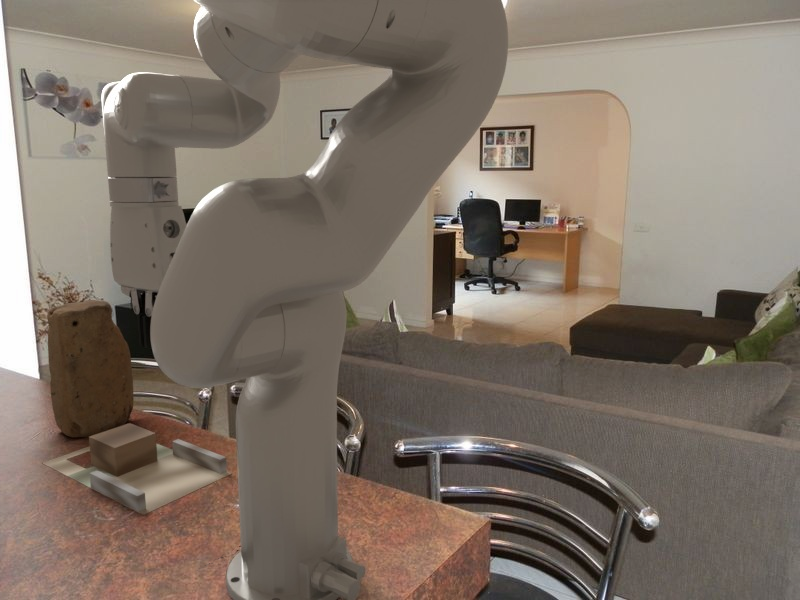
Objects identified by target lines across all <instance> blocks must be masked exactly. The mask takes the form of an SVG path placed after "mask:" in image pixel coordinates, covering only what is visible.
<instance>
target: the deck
mask: <svg viewBox="0 0 800 600" xmlns="http://www.w3.org/2000/svg"><path fill="white" fill-rule="evenodd" d="M171 443H172V444H171V445H172V448H169V447H166V446H164V445H161V444H159V443H157V442H156V445H157V459H158V461H156V462H153V463H151V464H148V465H146V466H143V467H141V468H138V469H136V470H133V471H131V472H128V473H126V474H123V475H121V476H118V477H116V476H114V475H112V474H110V473H108V472H105V471H103V470H101V469H99V468H97V467H95V466H93V465H92V466H90V467H88V468H85V467H82V466H81V465H78V464H77V463H74V462H72V461H70V459H73V458H74V457H77V456H80V455H83V454H86V453H88V452H89V453H90V445H89V446H85V447H83V448H81V449H80V448H79V449H78V450H74V451H71V452H68V453H67V454H64V455H61V456H58V457H55V458H52V459H49V460H46V461H44V462H42V463H41V464H42V465H45V466H47V467H48V468H50V469H52V470H54V471H56V472H58V473H60V474H61V475H64V476H66V477H67V478H70V479H72V480H74V481H75V482H77V483H80V484H82V485H84V486H86V487H88V488H89V489H92V490H94V491H96V492H98V493H99V494H101V495H102V496H105V497H107V498H108V499H112V500H114V501H115V502H117V503H119V504H121V505H123V506H125V507H127V508H129V509H131V510H133V511H135V512H137V513H138V514H140V515H142V516H145V515H147V514H148V513H151V512H153V511H156V510H157V509H159V508H163V507H164V506H166V505H169V504H171V503H173V502H175V501H176V500H179V499H181V498H184V497H185V496H188V495H190V494H192V493H195V492H196V491H198V490H200V489H203V488H205V487H207V486H209V485H212V484H213V483H215V482H217V481H220V480H221V479H224V478H226V477H228V476H230V475H232V472H229V471H228V468H227V467H228V466H227V457H226V456H224V455H222V454H219V453H216V452H213V451H211V450H208V449H205V448H203V447H201V446H198V445H195V444H192V443H190V442H187V441H185V440H182V439H180V438H177V439H175V440H172V442H171Z"/></svg>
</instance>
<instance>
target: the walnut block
mask: <svg viewBox="0 0 800 600" xmlns="http://www.w3.org/2000/svg"><path fill="white" fill-rule="evenodd" d="M88 442H89V446H90V451H89V453H90V454H89V455H90V463H91V466H92V467H93V466H95V467H97V468H99V469H101V470H103V471H105V472H108V473H110V474H112V475H114V476H116V477H118V476H121V475H123V474H126V473H128V472H131V471H133V470H136V469H138V468H141V467H143V466H146V465H148V464H151V463H153V462H156V461H158V459H157V445H156V443H157V434H156V432H154V431H151V430H148V429H146V428H144V427H141V426H138V425H136V424H133V423H131V422H129V423H125V424H123V425H121V426H119V427H116V428H113V429H110V430H107V431H104V432H101V433H98V434H95V435H92V436H89V437H88Z"/></svg>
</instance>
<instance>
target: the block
mask: <svg viewBox="0 0 800 600" xmlns="http://www.w3.org/2000/svg"><path fill="white" fill-rule="evenodd" d="M112 314H113V308H112V306H111V304H110V303H109V302H108V301H105V300H97V299H88V300H84V301H81V302H78V301H77V302H70V303H65V304H62V305H61V304H60V305H57V306H54V307H51V308H50V309H49V310H48V311H47V314H46V320H47V323H48V326H49V327H48V330H47V353H48V354H47V356H48V357H47V358H48V367H49V374H50V387H49V388H50V398H51V404H52V411H53V416H54V419H55V423H56V426H57V428H58V429H59V430H60V431H61V432H62V433H63V434H64V435H66V436H67V437H70V438H87V437H88V438H89V437H90V436H93V435H96V434H99V433H102V432H105V431H108V430H111V429H113V428H116V427H119V426H122V425H125V424H127V421H128V420H130V418H131V414H132V412H133V409H134V401H135V400H134V399H135V398H134V378H133V369H132V368H133V366H132V359H131V351H130V348H129V344H128V342H127V341H126V340H125V338H124V336H123V334H122V332H121V329H120V328H119V326H117V325H116V323H115V322H114V320H113V315H112Z"/></svg>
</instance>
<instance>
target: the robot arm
mask: <svg viewBox="0 0 800 600" xmlns="http://www.w3.org/2000/svg"><path fill="white" fill-rule="evenodd" d="M193 2H195V3H196V4H197V5H199V6H200V8H199V9H198V12H197V13H196V15H195V18H194V24H193V35H194V40H195V44H196V47H197V50H198V53H199V54H200V56H201V58H202V60H204V63H205V64H206V65H207V67H208V68H209V69H210V71H212V73H214V74H215V76H217V77H218V79H214V78H208V77H207V78H206V77H198V76H187V75H182V74H181V75H180V74H166V73H158V72H157V73H156V72H143V71H142V72H141V71H140V72H133V73H131V74H130V73H129V74H128V75H126V76H125V77H124V78H123V79H122V80H121V81H114V82H110V83H107V84H106V85H105V86H104V87H103V89H102V92H101V109H102V122H103V123H102V124H103V133H104V147H105V156H106V157H105V159H106V168H107V169H106V170H107V177H108V178H107V181H108V194H109V207H111V209H110V210H111V211H110V222H109V223H110V226H109V227H110V228H109V231H110V232H109V235H110V236H109V237H110V238H109V241H110V242H109V243H110V248H109V249H110V263H111V270H112V276H113V280H114V282H115V283H117V284H118V285H120V291H121V293H122V294H124V295H125V296H127V297H128V298H130V299H131V300H130V301H132V308H133V311H134V314H136V320H137V335H138V343H139V344H138V345H139V347H142V348H146V349H152V354H153V357H154V360H155V362H156V364H157V365H158V367H159V369H160V370H161V372H162V373H163V374H164V375H165V376H166V377H167V378H168V379H170V380H171V381H173V382H174V383H175V384H178V385H180V386H182V387H184V388H189V389H206V388H212V387H218V386H221V385H227V384H230V383H234V382H237V381H241V380H245V382H244V384H243V386H242V390H241V391H240V394H239V396H238V401H237V406H236V411H235V413H236V414H235V443H236V444H235V445H236V462H237V463H236V466H237V469H236V471H237V485H238V486H237V489H238V490H237V491H238V492H237V493H238V508H239V509H238V511H239V515H238V516H239V530H240V531H239V534H240V536H239V537H240V551H239V552H238V553H237V554H236V555H234V557H232V560H231V561H230V562H229V564H228V566H227V568H226V571H225V572H226V573H225V583H226V584H225V585H226V590H227V593H228V595H229V596H230V598H231V599H232V600H338V599H339V598H341V599H344V600H356V599H357V598H358V597H359V595H360V593H361V589H362V585H361V581H362V580H363V578H364V577H365V574H366V570H367V568H366V566H364V565H363V564H361V563H358V562H356V561H354V558H353V556H352V554H351V552H350V551H349V550H348V548H347V538H344V537H343V536H340V535H339V523H338V522H339V521H338V520H339V519H338V518H339V517H338V515H339V513H338V512H339V511H338V509H339V505H338V500H339V499H338V498H339V497H338V440H337V439H338V438H337V437H338V435H337V434H338V433H337V430H338V412H337V411H338V405H337V404H338V382H339V381H338V380H339V369H340V363H341V356H342V351H343V349H344V348H343V347H344V343H345V337H346V336H345V335H346V329H347V317H348V315H347V313H348V312H347V305H346V300H345V296H344V294H343V293H344V292H346V291H350V290H352V289H355V288H356V287H358V286H360V285H361V284H362V283H364V282H365V281H366V280H367V279H368V277H370V276H371V274H373V272H374V271H375V269H376V268H377V267H378V266H379V264H380V263H381V262H382V260H383V259H384V257H385V256H386V254H387V253H388V252H389V250H390V249H391V248H392V246H393V245H394V244H395V241H396V240H397V239H398V237H399V236H400V234H402V231H404V229H405V227H406V226H407V225H408V224H409V222H410V221H411V219H412V218H413V216H414V215H415V213H416V212H417V211H418V210H419V208H420V206H421V205H422V204H423V202H424V200H425V198H426V197H427V196H428V194H429V192H430V191H431V189H432V188H433V187H434V186H435V184H437V182H438V180H439V179H440V178H441V176H443V174H444V172H445V171H446V170H447V169H448V168H449V167H450V165H451V164H452V163H453V162H454V160H455V159H456V158H457V156H459V154H460V153H461V152H462V151H463V149H464V148H465V147H466V146H467V144H469V142H470V141H471V140H472V138H473V137H474V135H475V134H476V133H477V131H478V130H479V128H480V127H481V126H482V124H483V123H484V121H485V120H486V118H487V116H488V115H489V113H490V111H491V110H492V108H493V106H494V104H495V102H496V99H497V97H498V95H499V92H500V90H501V87H502V84H503V79H504V77H505V72H506V67H507V61H508V54H509V53H508V50H509V27H508V22H507V14H506V10H505V7H504V3H503V1H502V0H193ZM300 56H306V57H310V58H313V59H318V60H325V61H332V62H338V63H346V64H353V65H357V66H358V65H359V66H365V67H370V68H376V69H378V68H379V69H384V70H385V69H386V70H390V71H391V72H390V75H389V76H388V78H386V80H385V81H384V82H383V83H381V84H380V85H379V86H378V87H376V88H375V89H374V90H372V91H371V92H369V93H368V94H367V95H365V96H364V97H363V98H361V99H360V100H359V101H357V103H356V104H355V105H353V106H352V107H351V108H350V109H349V110H348V111H347V112H346V113H345V115H343V116H342V118H341V119H340V120H339V121H338V123H337V125H336V126H335V127H334V129H333V130H332V132H331V133H330V135H329V138H328V140H327V142H326V143H325V146H324V148H323V149H322V150H321V152H320V154H319V156H318V157H317V158H316V160H315V161H314V162H313V164H312V165H311V166H310V167H309V168H308V170H307V171H305V172H302V173H300V174H298V175H295V176H293V175H292V176H288V177H265V178H264V177H261V178H260V177H257V178H255V177H253V178H243V179H235V180H231V181H228V182H226V183H223V184H221V185H218V186H217V187H215V188H213V190H211V191H210V192H208V193H207V194H206V195H205V196H204V197H202V198H201V200H200V201H199V202H198V203H197V204H196V207H195V208H194V209H193V212H192V213H191V215H190V217H189V220H187V222H186V217H185V214H184V211H183V208H182V207H183V206H182V205H179V191H178V189H179V188H178V180H177V179H178V178H177V162H176V161H177V160H176V149H177V148H189V149H213V150H214V149H216V150H217V149H218V150H219V149H221V150H222V149H223V150H224V149H228V148H232V147H236V146H239V145H240V144H242V143H244V142H245V141H248V140H249V139H250V138H251V137H253V136H254V135H256V134H257V133H258V132H260V131H261V129H263V128H264V127H266V125H267V124H269V123H270V120H272V118H273V116H274V113H275V111H276V108H277V105H278V101H279V99H280V92H281V76H280V74H281V73H282V72H283V71H285V69H287V68H288V67H289V66H290V65H291V64H293V62H295V60H297V59H298V58H299V57H300Z"/></svg>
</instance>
